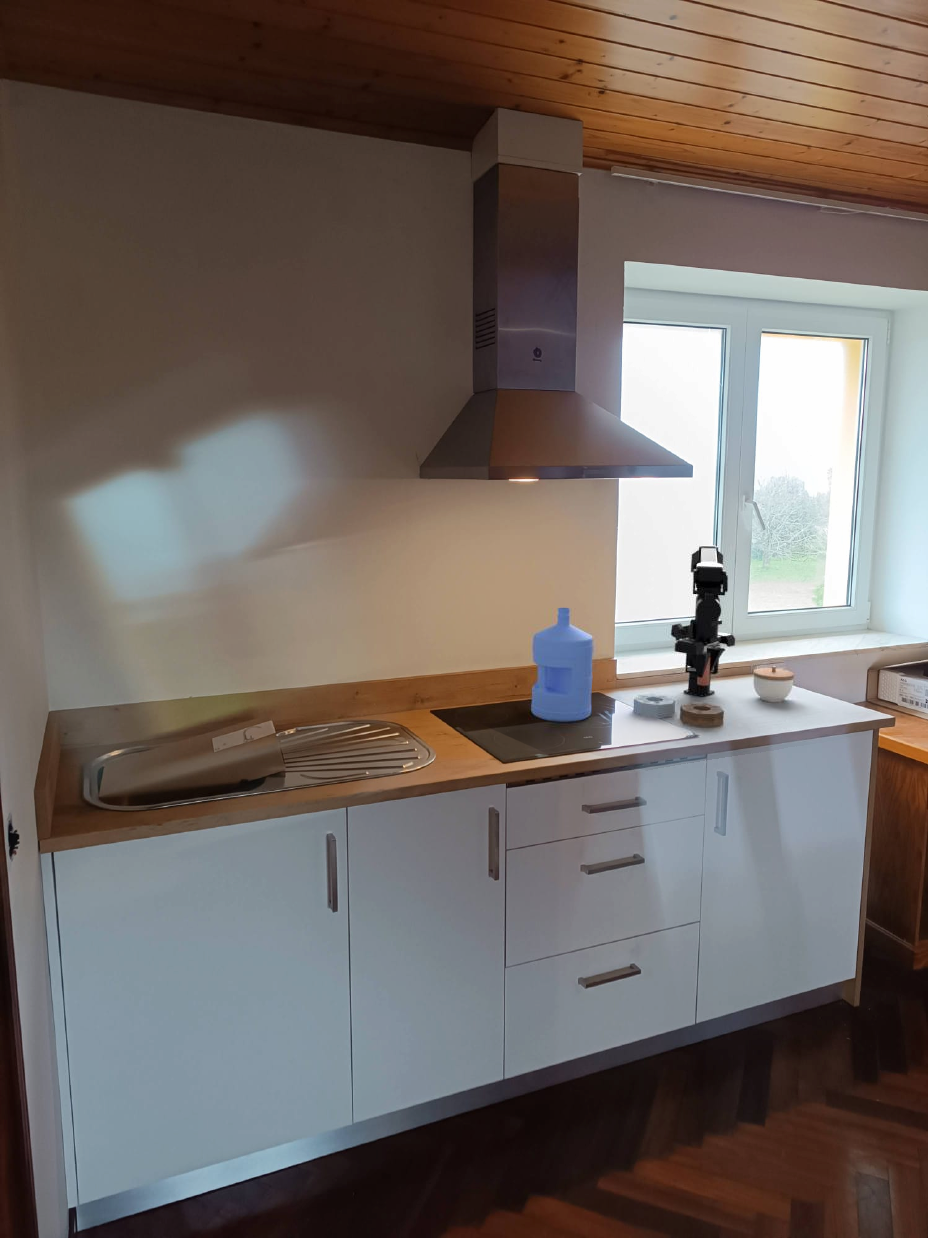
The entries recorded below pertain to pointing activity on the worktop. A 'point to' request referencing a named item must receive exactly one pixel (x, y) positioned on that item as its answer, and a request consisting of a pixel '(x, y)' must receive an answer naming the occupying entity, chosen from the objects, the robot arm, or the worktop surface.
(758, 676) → the lidded jar
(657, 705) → the blue bead
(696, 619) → the robot arm
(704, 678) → the pink rounded cylinder
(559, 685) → the water jug
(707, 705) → the walnut bead
